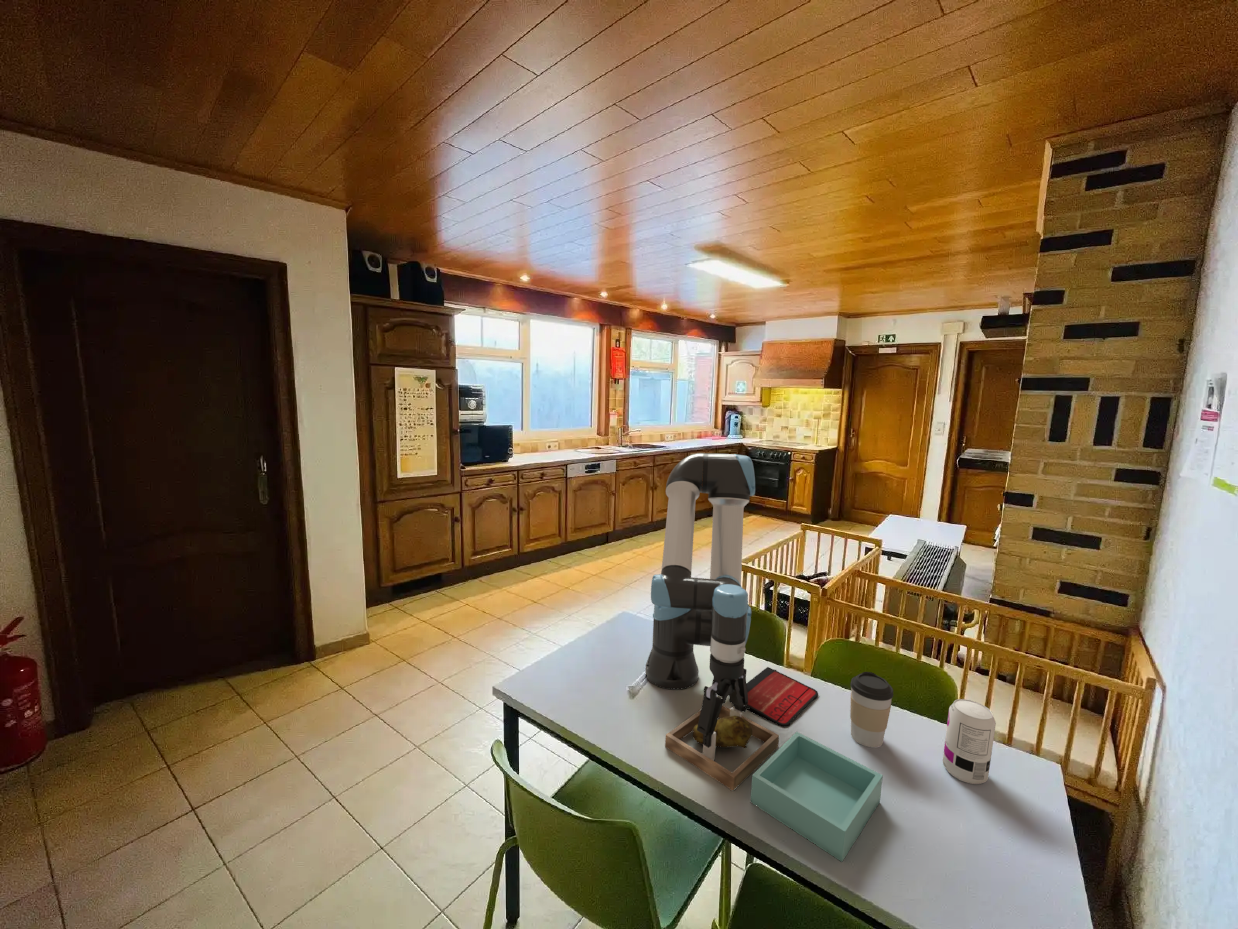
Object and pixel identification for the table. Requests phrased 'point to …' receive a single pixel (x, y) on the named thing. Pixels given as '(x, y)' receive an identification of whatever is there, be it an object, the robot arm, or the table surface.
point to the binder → (778, 697)
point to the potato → (728, 732)
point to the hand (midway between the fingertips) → (721, 746)
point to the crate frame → (711, 766)
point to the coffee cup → (869, 708)
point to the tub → (817, 793)
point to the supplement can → (969, 741)
